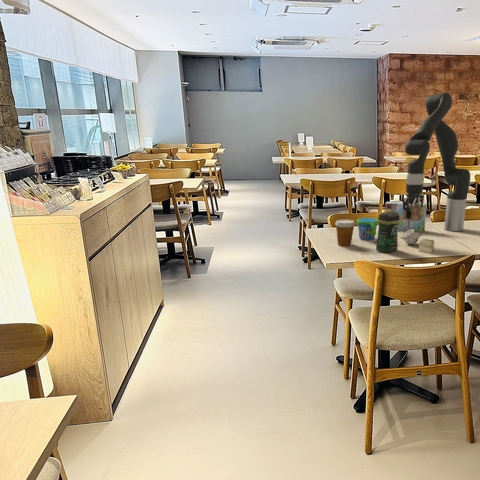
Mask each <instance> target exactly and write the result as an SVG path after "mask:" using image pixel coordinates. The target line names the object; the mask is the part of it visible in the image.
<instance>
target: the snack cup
mask: <svg viewBox="0 0 480 480" xmlns="http://www.w3.org/2000/svg"><path fill="white" fill-rule="evenodd" d="M356 223H357V227H358V229H357V230H358V237H359V239H361V240H364V241H371V240H374V239H375V237H376V235H377V227H378V225H379V223H378V218H375V217H374V218H373V217H359V218H358V219H356Z"/></svg>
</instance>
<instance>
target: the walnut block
mask: <svg viewBox="0 0 480 480" xmlns="http://www.w3.org/2000/svg"><path fill="white" fill-rule="evenodd" d="M409 208H410V206H409ZM421 218H422V207H418V206H413V207H412V208H411V218H410V219H407V218H406V210H404V212H403V219H405V220H410V221H417V220H421Z"/></svg>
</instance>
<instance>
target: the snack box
mask: <svg viewBox="0 0 480 480" xmlns="http://www.w3.org/2000/svg"><path fill="white" fill-rule="evenodd" d="M420 205H421V204H420ZM427 205H428V204H427V203H423V207H422V218H421V220H417V221H410V220H405V219H403V212H404V210H403V201H401V202H399V201H398V202H397V201H386V202H385V203H384V209H383V210H384V211H383V213H385V212H390V211H393V212H398V213H399V223H398V231H402V232H403V231H404V232H405V231H406V230H410V229H413V228H414V230H416V232H417V233H424V231H425V228H426V217H427V216H426V215H427ZM405 207H406V205H405ZM405 229H406V230H405Z"/></svg>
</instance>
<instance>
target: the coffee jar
mask: <svg viewBox="0 0 480 480" xmlns="http://www.w3.org/2000/svg"><path fill="white" fill-rule="evenodd" d="M377 219H378V231H377V240H376V248H375V249H376V250H377V251H378V252H380V253H386V254H387V253H388V254H389V253H392V252H396V251H397V250H398V246H399V245H398V234H399V233H398V231H399V230H398V223H399V213H398V212H393V211H390V212H385V213H384V212H381V213H379V214H378V218H377Z"/></svg>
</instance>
